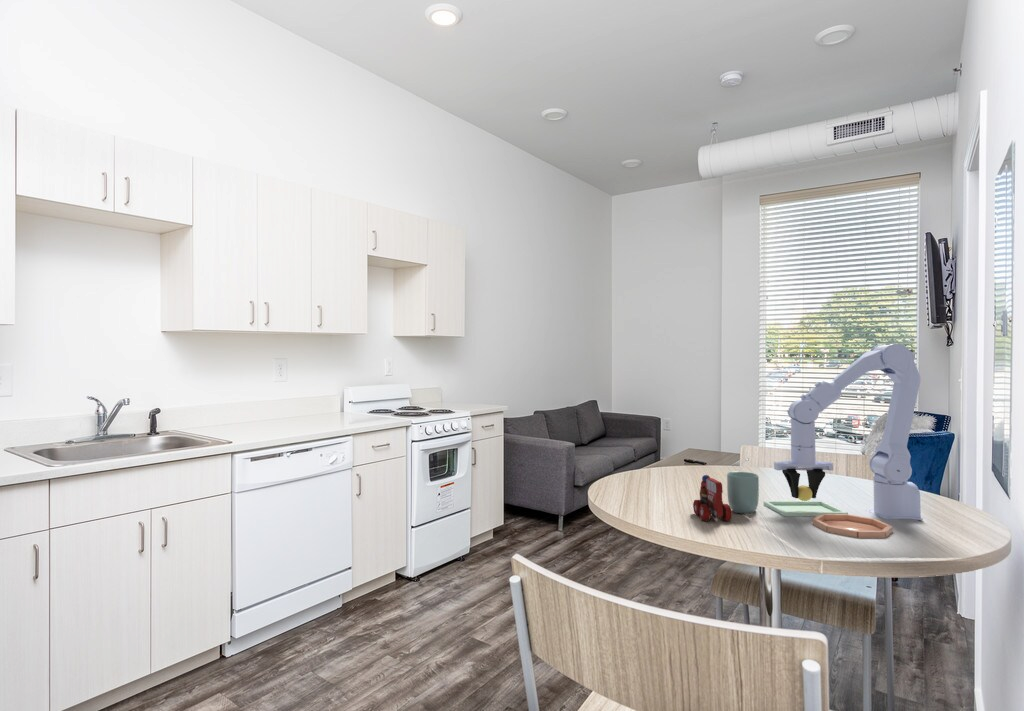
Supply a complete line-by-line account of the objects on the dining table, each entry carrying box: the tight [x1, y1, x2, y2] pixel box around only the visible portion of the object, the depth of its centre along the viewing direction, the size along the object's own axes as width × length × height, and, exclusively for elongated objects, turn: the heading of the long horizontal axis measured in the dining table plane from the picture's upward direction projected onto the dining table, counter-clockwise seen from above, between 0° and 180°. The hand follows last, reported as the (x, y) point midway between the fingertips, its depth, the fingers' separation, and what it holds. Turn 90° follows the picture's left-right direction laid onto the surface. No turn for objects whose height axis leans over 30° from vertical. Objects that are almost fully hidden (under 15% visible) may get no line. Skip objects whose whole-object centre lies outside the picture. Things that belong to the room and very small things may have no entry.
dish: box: [812, 513, 894, 539], centre depth 130 cm, size 15×15×2 cm
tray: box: [763, 500, 849, 517], centre depth 146 cm, size 16×12×2 cm
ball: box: [797, 485, 813, 501], centre depth 146 cm, size 4×4×4 cm
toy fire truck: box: [692, 474, 733, 522], centre depth 141 cm, size 7×12×10 cm, turn 0°
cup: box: [726, 471, 760, 515], centre depth 146 cm, size 8×8×10 cm
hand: (803, 497), depth 146 cm, fingers closed on ball, 4 cm apart
